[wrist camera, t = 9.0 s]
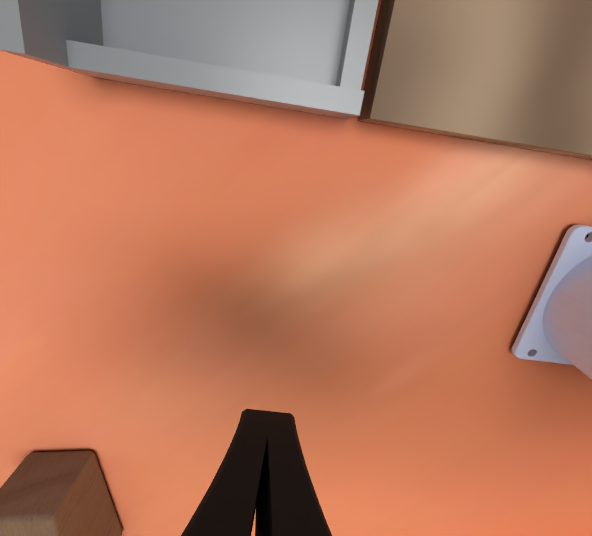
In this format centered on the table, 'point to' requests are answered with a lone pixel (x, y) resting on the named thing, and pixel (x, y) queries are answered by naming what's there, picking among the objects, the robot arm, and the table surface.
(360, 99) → the gray box
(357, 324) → the table surface
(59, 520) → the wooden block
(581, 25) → the walnut board
